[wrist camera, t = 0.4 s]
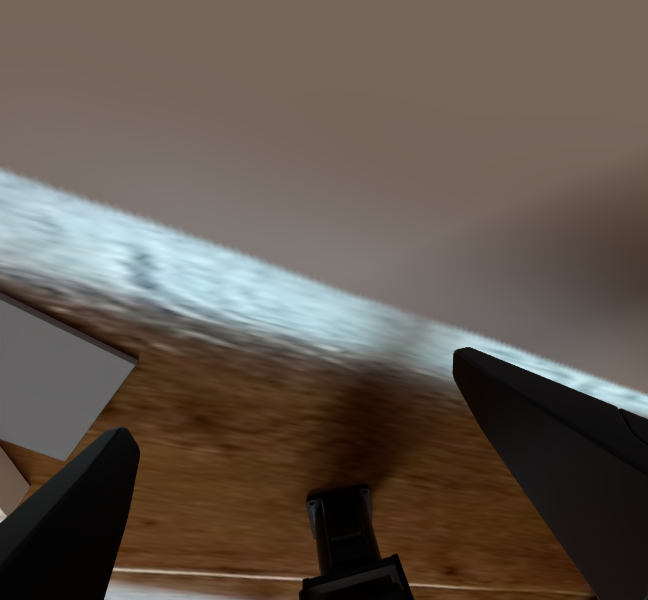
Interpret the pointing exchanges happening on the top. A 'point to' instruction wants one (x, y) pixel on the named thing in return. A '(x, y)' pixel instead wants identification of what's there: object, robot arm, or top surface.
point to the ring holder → (10, 486)
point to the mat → (52, 380)
